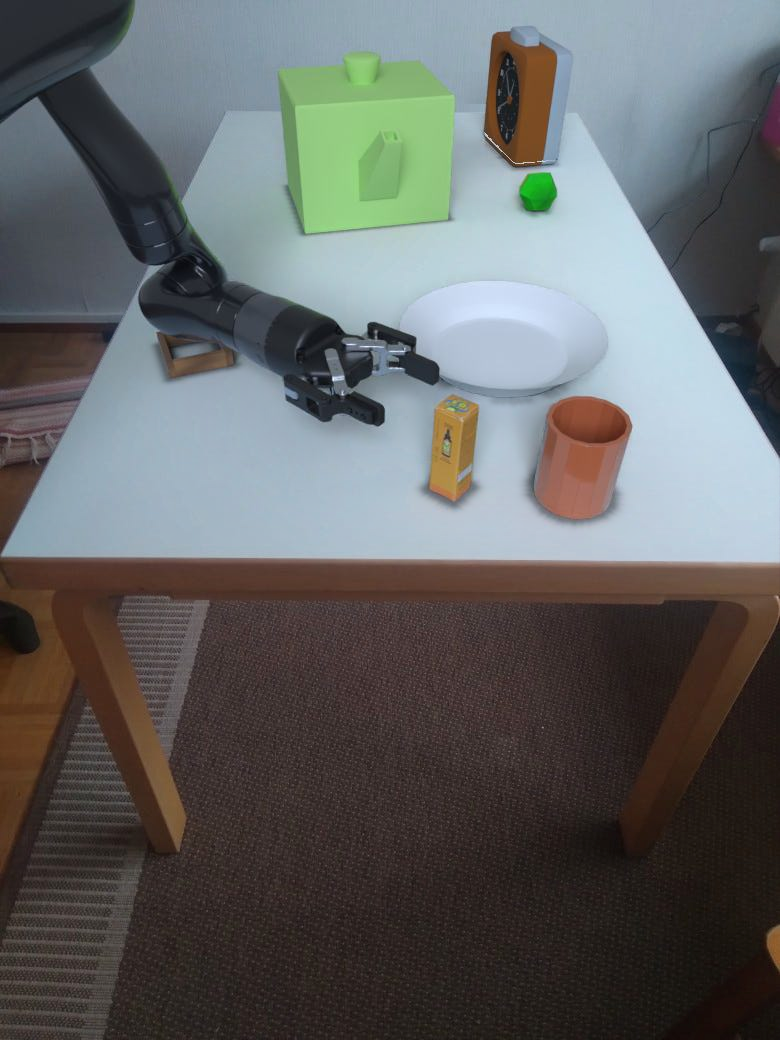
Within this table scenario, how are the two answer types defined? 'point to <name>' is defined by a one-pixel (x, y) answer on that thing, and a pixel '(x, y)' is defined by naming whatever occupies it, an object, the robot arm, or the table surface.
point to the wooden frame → (192, 357)
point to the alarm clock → (527, 95)
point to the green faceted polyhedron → (538, 191)
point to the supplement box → (453, 446)
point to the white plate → (505, 337)
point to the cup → (581, 456)
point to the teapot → (367, 143)
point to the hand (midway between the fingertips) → (411, 395)
